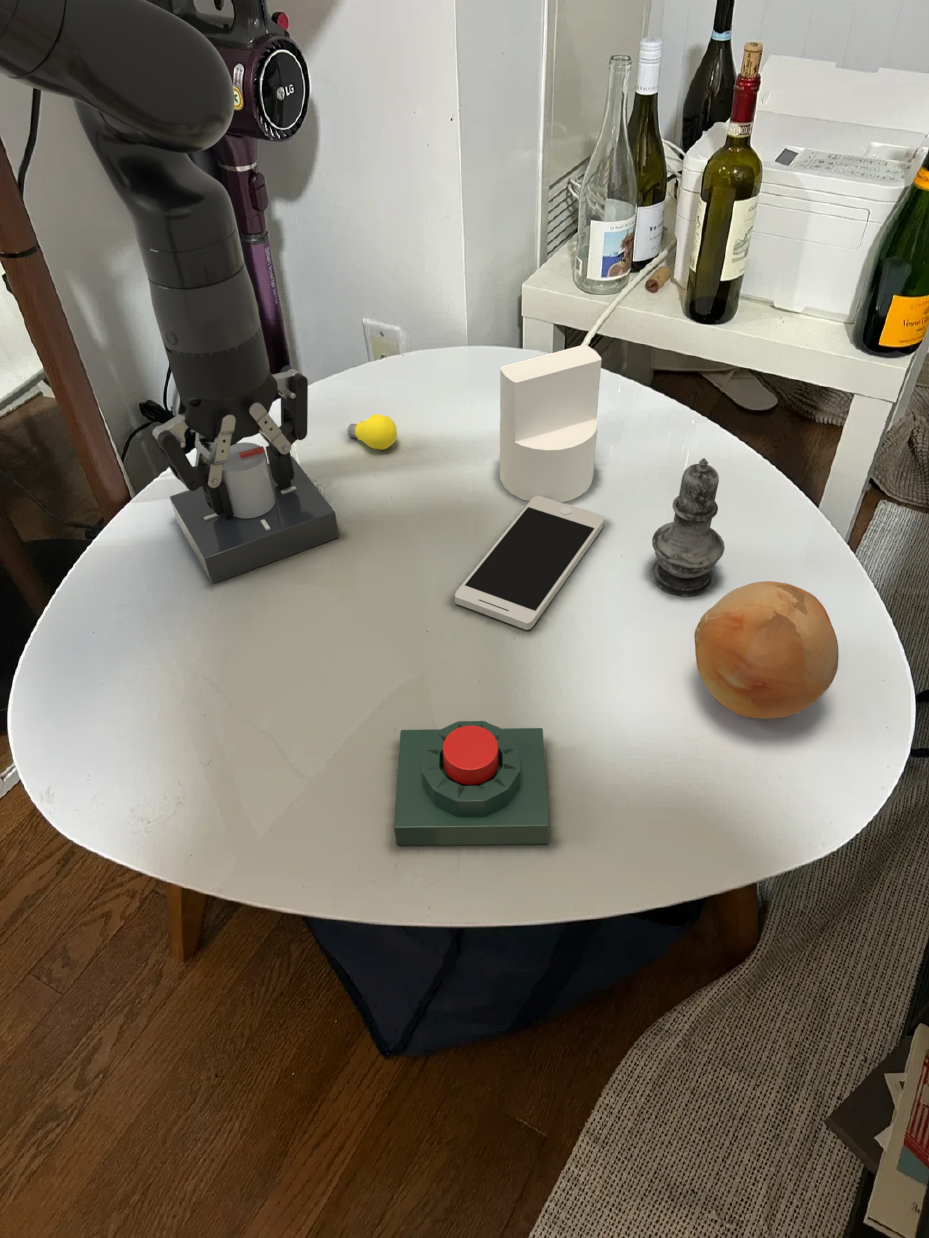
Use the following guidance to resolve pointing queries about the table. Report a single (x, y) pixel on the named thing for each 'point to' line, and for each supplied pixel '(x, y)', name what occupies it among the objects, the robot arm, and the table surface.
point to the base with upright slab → (549, 424)
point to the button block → (471, 792)
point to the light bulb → (375, 431)
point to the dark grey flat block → (256, 528)
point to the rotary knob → (248, 481)
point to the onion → (766, 650)
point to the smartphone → (530, 562)
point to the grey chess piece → (689, 536)
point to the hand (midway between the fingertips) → (253, 498)
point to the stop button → (470, 755)
